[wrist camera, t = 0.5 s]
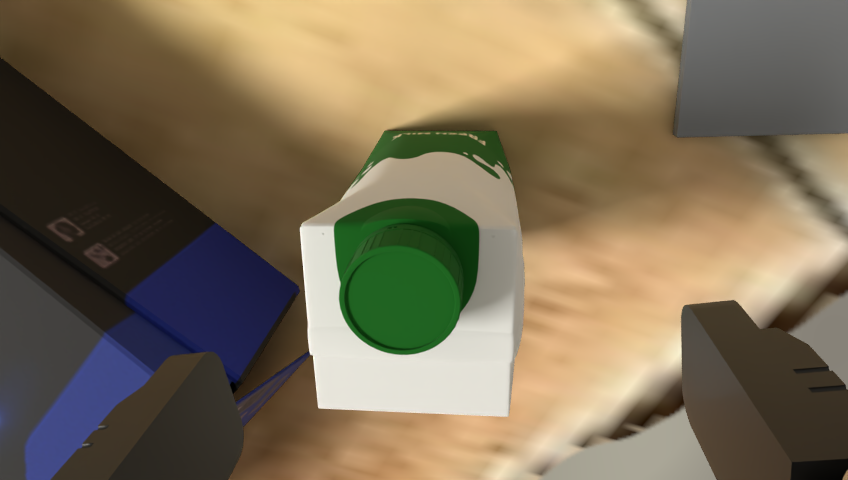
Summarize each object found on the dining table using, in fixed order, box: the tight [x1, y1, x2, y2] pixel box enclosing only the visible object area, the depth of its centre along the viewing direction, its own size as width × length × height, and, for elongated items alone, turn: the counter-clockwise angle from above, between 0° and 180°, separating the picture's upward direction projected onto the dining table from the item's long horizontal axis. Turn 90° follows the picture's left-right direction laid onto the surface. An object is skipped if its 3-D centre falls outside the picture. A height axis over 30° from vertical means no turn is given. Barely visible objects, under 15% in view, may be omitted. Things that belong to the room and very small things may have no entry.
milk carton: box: [300, 131, 525, 417], centre depth 29 cm, size 9×9×20 cm
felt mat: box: [673, 0, 848, 137], centre depth 34 cm, size 10×10×1 cm
